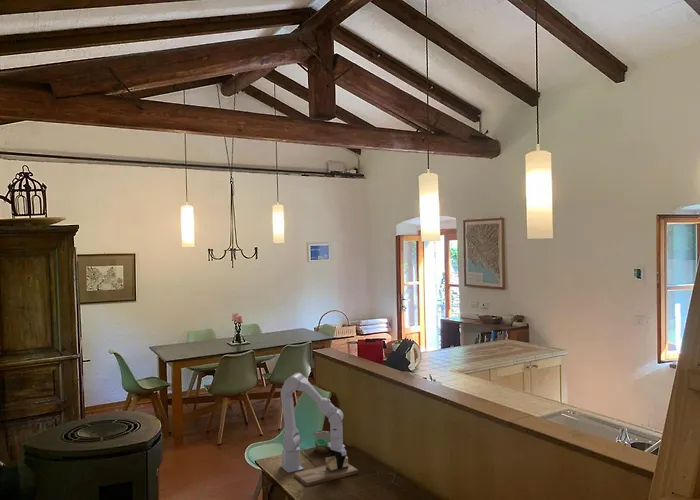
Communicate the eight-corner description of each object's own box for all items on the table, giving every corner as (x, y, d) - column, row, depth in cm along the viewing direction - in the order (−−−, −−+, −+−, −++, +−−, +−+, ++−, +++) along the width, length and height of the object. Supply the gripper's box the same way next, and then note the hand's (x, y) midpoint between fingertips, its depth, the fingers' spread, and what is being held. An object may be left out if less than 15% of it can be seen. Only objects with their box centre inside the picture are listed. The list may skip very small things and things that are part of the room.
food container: (310, 452, 275) (310, 433, 275) (313, 448, 281) (313, 429, 281) (334, 453, 273) (334, 433, 273) (336, 449, 279) (336, 430, 279)
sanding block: (325, 468, 250) (325, 457, 250) (342, 464, 254) (342, 453, 254) (331, 472, 246) (330, 461, 246) (348, 468, 250) (348, 457, 250)
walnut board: (294, 476, 246) (294, 472, 246) (343, 464, 259) (343, 460, 259) (306, 486, 235) (306, 482, 235) (358, 473, 248) (358, 469, 248)
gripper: (352, 439, 246) (352, 469, 246) (336, 431, 258) (337, 459, 258) (338, 442, 242) (339, 473, 242) (323, 433, 255) (323, 463, 255)
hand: (337, 466), depth 250 cm, fingers closed on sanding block, 5 cm apart
